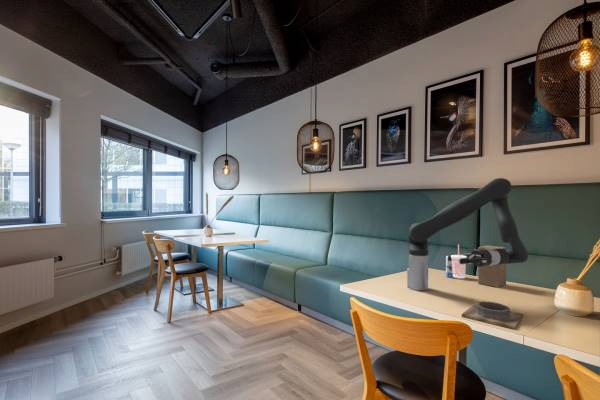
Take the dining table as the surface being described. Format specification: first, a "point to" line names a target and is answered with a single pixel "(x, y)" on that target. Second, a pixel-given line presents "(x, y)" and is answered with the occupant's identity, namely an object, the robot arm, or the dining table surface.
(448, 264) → the ink box
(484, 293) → the dining table surface
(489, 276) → the wooden block
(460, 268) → the beverage cup
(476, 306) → the cup holder
